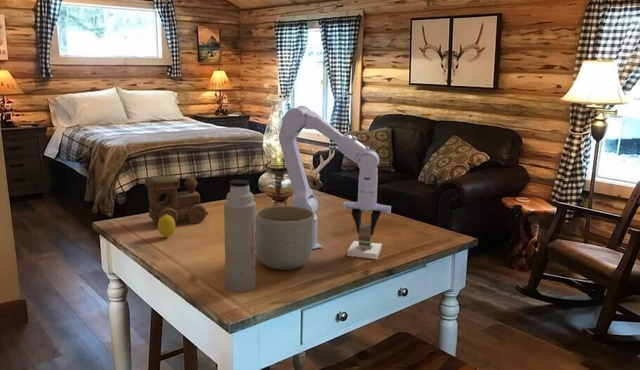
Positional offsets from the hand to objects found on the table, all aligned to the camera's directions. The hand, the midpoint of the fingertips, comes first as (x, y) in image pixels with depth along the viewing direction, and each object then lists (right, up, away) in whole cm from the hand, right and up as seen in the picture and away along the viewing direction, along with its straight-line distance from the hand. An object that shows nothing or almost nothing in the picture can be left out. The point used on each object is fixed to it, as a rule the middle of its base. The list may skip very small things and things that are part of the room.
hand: (365, 233), depth 170 cm
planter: (-25, -8, -10) cm, 28 cm away
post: (0, -3, +1) cm, 3 cm away
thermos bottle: (-35, -12, -26) cm, 45 cm away
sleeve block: (0, -6, +1) cm, 6 cm away
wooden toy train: (-65, +1, +28) cm, 71 cm away
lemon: (-64, -3, +10) cm, 65 cm away
